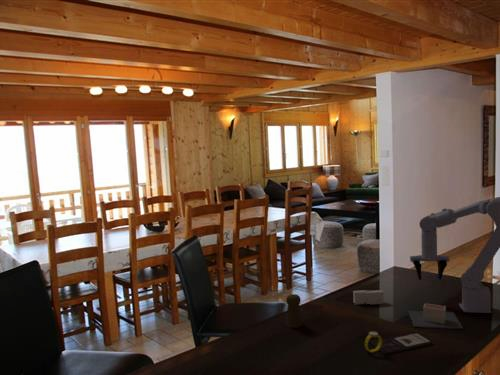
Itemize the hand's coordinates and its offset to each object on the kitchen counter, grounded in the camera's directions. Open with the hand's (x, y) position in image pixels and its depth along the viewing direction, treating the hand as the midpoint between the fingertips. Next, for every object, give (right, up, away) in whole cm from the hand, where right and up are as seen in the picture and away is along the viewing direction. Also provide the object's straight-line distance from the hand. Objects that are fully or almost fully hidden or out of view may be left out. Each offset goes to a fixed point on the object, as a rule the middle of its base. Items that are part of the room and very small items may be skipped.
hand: (429, 278), depth 174 cm
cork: (-56, -14, -14) cm, 59 cm away
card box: (-6, -11, -18) cm, 22 cm away
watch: (-33, -15, -37) cm, 52 cm away
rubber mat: (-5, -11, -17) cm, 21 cm away
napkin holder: (-24, -11, +4) cm, 27 cm away
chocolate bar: (-23, -15, -33) cm, 43 cm away
